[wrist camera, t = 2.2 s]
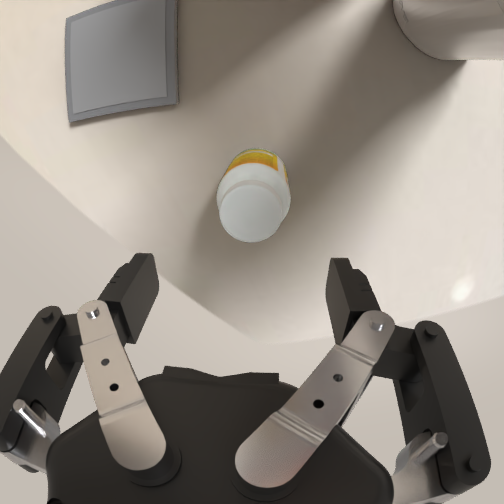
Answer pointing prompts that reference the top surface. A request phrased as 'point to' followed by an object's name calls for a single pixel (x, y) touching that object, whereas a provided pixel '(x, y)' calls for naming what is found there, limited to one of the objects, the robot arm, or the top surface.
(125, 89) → the plate
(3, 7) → the top surface
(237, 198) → the supplement bottle
